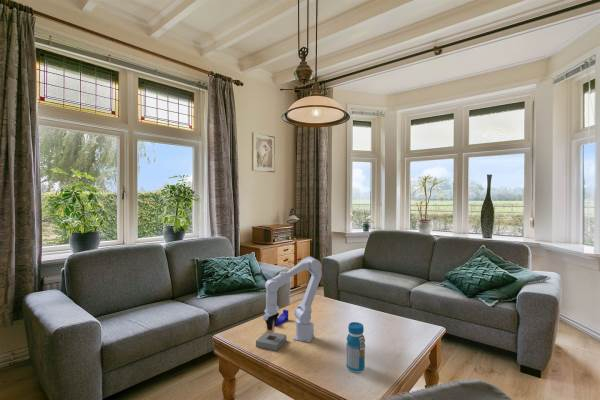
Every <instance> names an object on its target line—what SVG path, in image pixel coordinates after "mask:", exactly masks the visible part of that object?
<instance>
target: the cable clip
mask: <svg viewBox="0 0 600 400" xmlns="http://www.w3.org/2000/svg"><path fill="white" fill-rule="evenodd" d="M288 320H289V310H287V309H283V310H282V313H281V314H279V316H278V318H277V321H276V325H275V327H277V326H279V325H282V324H283V323H285V322H287V321H288ZM275 327H274V328H275Z"/></svg>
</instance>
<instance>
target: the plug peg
mask: <svg viewBox="0 0 600 400" xmlns="http://www.w3.org/2000/svg"><path fill="white" fill-rule="evenodd" d="M266 331H267V333H270V334H272V333H273V332H274V333H275V327H274V321H273V328H272V330H268V328H267V327H266Z"/></svg>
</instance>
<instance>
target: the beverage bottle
mask: <svg viewBox="0 0 600 400" xmlns="http://www.w3.org/2000/svg"><path fill="white" fill-rule="evenodd" d="M347 328H348V335H347V337H346V345H345V346H346V369H347V370H348V371H349V372H352V373H356V374H357V373H363V372H364V371H365V362H366V361H365V354H366V351H365V350H366V344H365V342H366V339H365V335H364V324H363V323H361V322H357V321H353V322H349V324H348V327H347Z"/></svg>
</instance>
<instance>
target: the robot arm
mask: <svg viewBox="0 0 600 400" xmlns="http://www.w3.org/2000/svg"><path fill="white" fill-rule="evenodd" d="M322 267H323V265H322V263H321V262H320V260H319V259H316V258H314V257H313V256H310V255H309V256H306V257H305V258H303V259H301V261H299V263H297V264H295V265H294V266H293V267H292V268H290V269H289V270H287V271H280V272H279V274H278V275H275V276H274V277H272V278H270V279H267V280H266V282H265V284H264V288H265V292H266V293H265V309H264V311H263V312H264V315H263V318H262V319H263V321H265V324H266V329H267V328H268V330H272V328H273V321H274V328H275V325H276V321H277V318H278V317H279V316H280V313H279V312H278V311H279V310H280V306H278V292H279V291H278V290H279V288H281V287H282V286H283V285H285V284H287V283H288V282H290V280H291V277H293V276H295V275H297V274H299V273H301V272H302V271H309V273H310V275H311V276H310V279H309V281H308V284H307V288H305V292H304V295H303V297H302V300H301V302H300V303H298V306H297V307H296V308H295V309H294V313H293V314H294V316H295V318H296V319H295V335H294V337H293V338H292V339H293V340H295V341H301V342H307V343H310V342H311V341H312V339H314V337H315V333H314V332H315V331H314V330H315V329H314V328H315V327H314V323H313V322H311V319H312V315H311V314H312V312H313V310H312V305H313V301H314V298H315V296H316V293H317V291H318V288H319V284H320V282H321V280H322V279H321V278H322V277H323V274H322V272H323V271H322Z"/></svg>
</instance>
